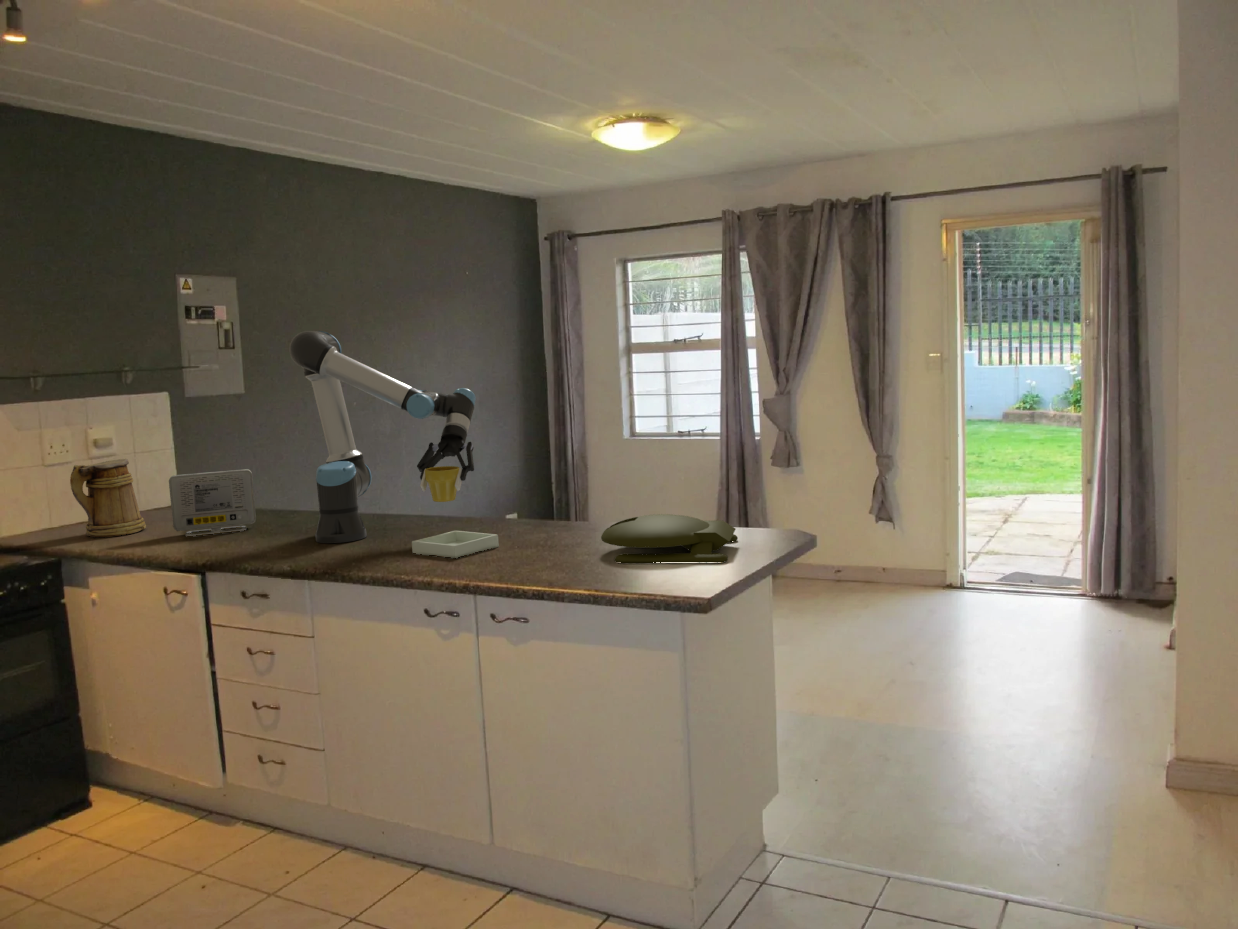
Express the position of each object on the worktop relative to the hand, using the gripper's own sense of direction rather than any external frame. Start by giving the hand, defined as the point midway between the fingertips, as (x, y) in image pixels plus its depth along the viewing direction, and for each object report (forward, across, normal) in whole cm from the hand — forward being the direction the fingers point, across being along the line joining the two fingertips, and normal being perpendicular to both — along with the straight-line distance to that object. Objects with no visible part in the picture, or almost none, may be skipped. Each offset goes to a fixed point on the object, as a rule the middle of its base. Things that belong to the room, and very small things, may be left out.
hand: (439, 488), depth 295 cm
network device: (0, +87, -24) cm, 90 cm away
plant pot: (+1, 0, -5) cm, 5 cm away
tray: (+22, -10, 0) cm, 24 cm away
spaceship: (+25, -71, +3) cm, 75 cm away
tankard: (+1, +126, -23) cm, 128 cm away
